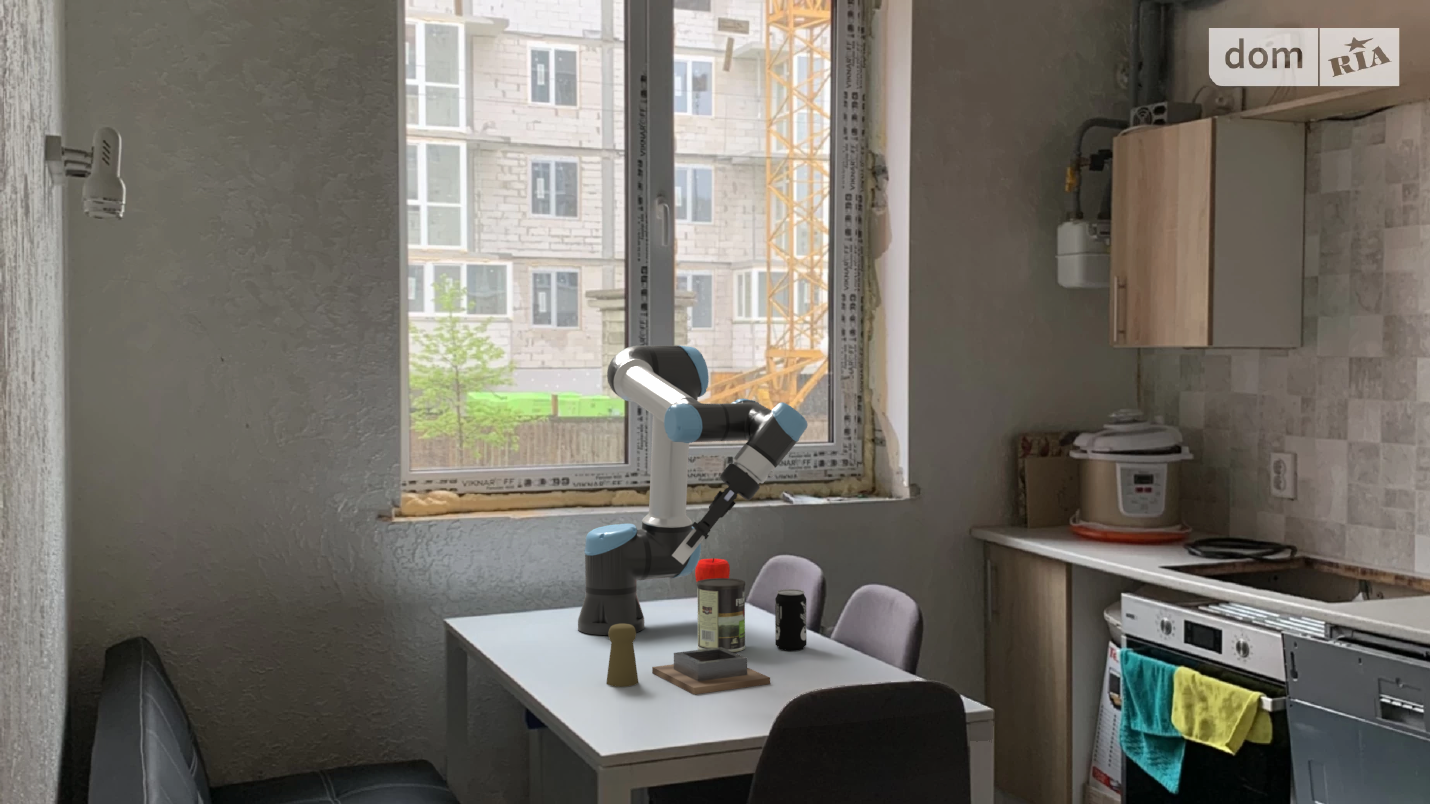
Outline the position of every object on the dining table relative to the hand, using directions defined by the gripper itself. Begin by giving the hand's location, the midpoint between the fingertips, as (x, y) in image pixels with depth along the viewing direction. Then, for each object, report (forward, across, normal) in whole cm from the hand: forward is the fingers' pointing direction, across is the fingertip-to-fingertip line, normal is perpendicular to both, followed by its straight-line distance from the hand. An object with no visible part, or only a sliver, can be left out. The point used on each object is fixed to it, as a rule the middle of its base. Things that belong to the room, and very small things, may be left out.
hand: (677, 559), depth 233 cm
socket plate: (+14, +1, -19) cm, 23 cm away
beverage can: (0, +26, -31) cm, 40 cm away
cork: (+24, -1, -6) cm, 25 cm away
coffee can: (+9, +27, -19) cm, 34 cm away
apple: (+3, +82, -14) cm, 83 cm away
